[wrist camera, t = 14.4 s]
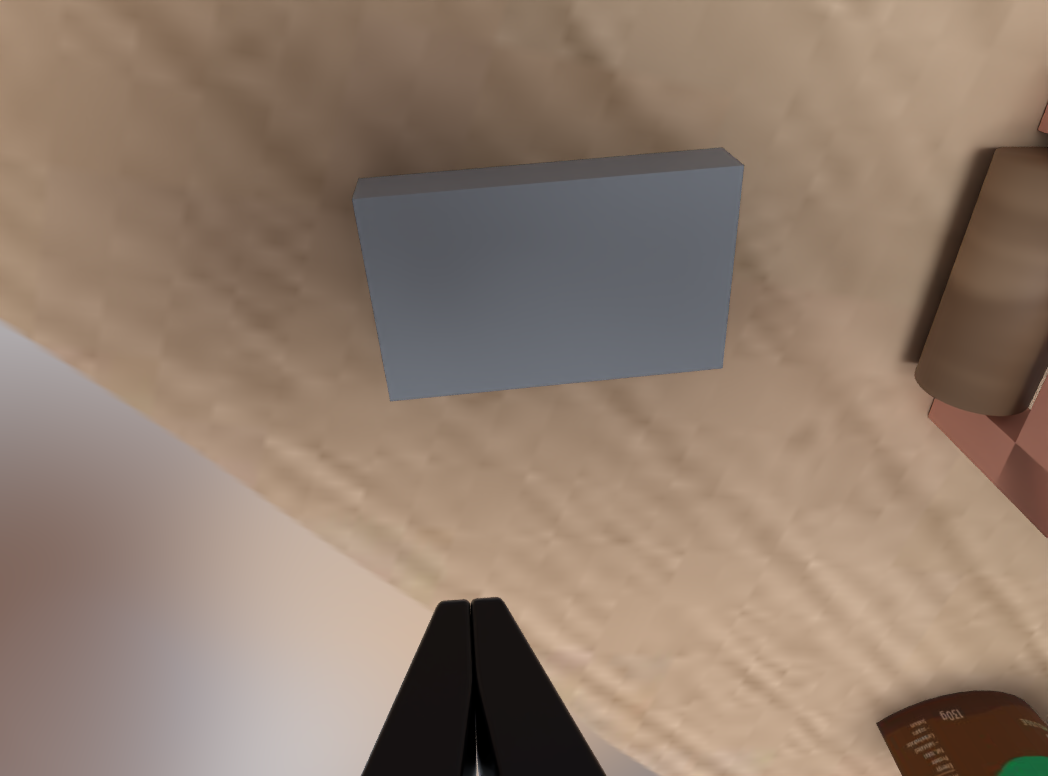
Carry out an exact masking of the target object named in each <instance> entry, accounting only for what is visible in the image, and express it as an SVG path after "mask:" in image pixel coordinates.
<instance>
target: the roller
mask: <svg viewBox="0 0 1048 776" xmlns="http://www.w3.org/2000/svg"><path fill="white" fill-rule="evenodd" d="M1047 367H1048V147H1001V148H998V149H997V150H995V153H994V155H993V158H992V161H991V164H990V166H989V169H988V172H987V175H986V177H985V180H984V183H983V186H982V188H981V191H980V194H979V197H978V199H977V202H976V205H975V208H974V210H973V213H972V216H971V219H970V222H969V224H968V227H967V230H966V233H965V235H964V238H963V241H962V244H961V246H960V249H959V252H958V255H957V257H956V260H955V263H954V266H953V268H952V271H951V274H950V277H949V279H948V282H947V285H946V288H945V290H944V293H943V296H942V299H941V302H940V304H939V307H938V310H937V313H936V315H935V318H934V321H933V324H932V326H931V329H930V332H929V335H928V337H927V340H926V343H925V346H924V348H923V351H922V354H921V357H920V359H919V362H918V365H917V368H916V371H915V379H916V381H917V383H918V384H919V386H920V387H921V388H922V389H923V390H924V391H926V392H927V393H928V394H930V395H931V396H933V397H934V398H936V399H938V400H940V401H942V402H944V403H946V404H948V405H951V406H953V407H956V408H959V409H962V410H965V411H968V412H973V413H977V414H983V415H991V416H1009V415H1015V414H1019V413H1021V412H1023V411H1025V410H1026V409H1027V408H1028V407H1029V405H1030V403H1031V401H1032V398H1033V396H1034V394H1035V392H1036V390H1037V388H1038V386H1039V384H1040V382H1041V379H1042V377H1043V375H1044V373H1045V371H1046V369H1047Z"/></svg>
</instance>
